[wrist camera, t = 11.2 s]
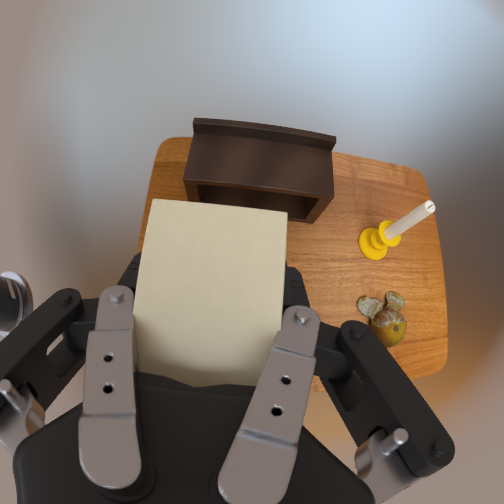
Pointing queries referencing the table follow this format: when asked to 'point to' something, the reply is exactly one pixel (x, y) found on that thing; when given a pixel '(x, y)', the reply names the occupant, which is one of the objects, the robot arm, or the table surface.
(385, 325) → the fruit
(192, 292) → the snack box
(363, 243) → the candle
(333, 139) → the shelf
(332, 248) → the table surface
